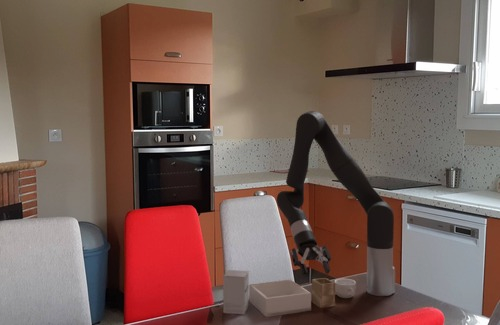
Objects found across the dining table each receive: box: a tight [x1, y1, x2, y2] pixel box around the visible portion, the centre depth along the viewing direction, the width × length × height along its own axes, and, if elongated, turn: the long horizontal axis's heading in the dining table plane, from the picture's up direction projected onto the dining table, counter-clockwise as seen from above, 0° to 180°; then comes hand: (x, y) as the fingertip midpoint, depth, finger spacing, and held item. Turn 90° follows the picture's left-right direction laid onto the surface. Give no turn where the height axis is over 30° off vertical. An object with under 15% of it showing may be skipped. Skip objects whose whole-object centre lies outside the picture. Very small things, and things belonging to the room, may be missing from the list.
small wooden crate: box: [311, 277, 336, 309], centre depth 174 cm, size 6×6×8 cm
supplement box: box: [222, 269, 250, 315], centre depth 168 cm, size 7×7×13 cm
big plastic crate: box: [249, 279, 312, 318], centre depth 172 cm, size 16×16×6 cm
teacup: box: [333, 278, 357, 299], centre depth 180 cm, size 10×8×5 cm
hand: (317, 273), depth 177 cm, fingers open, 8 cm apart
